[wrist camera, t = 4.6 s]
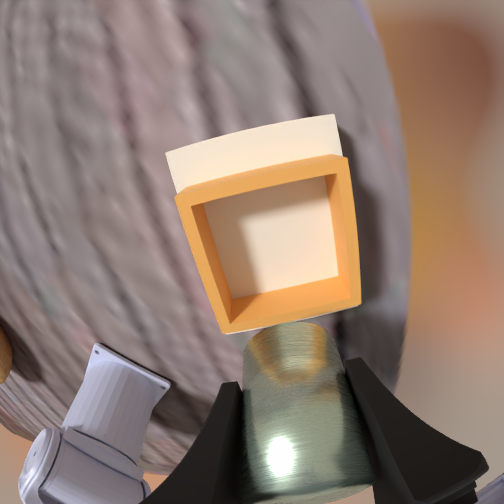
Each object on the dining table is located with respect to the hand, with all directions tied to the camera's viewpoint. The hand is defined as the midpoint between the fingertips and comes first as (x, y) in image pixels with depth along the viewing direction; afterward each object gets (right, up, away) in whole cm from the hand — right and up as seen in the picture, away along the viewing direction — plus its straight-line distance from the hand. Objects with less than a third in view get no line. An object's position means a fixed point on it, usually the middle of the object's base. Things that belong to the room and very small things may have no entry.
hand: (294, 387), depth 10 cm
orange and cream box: (0, +7, +7) cm, 10 cm away
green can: (0, +1, +2) cm, 2 cm away
